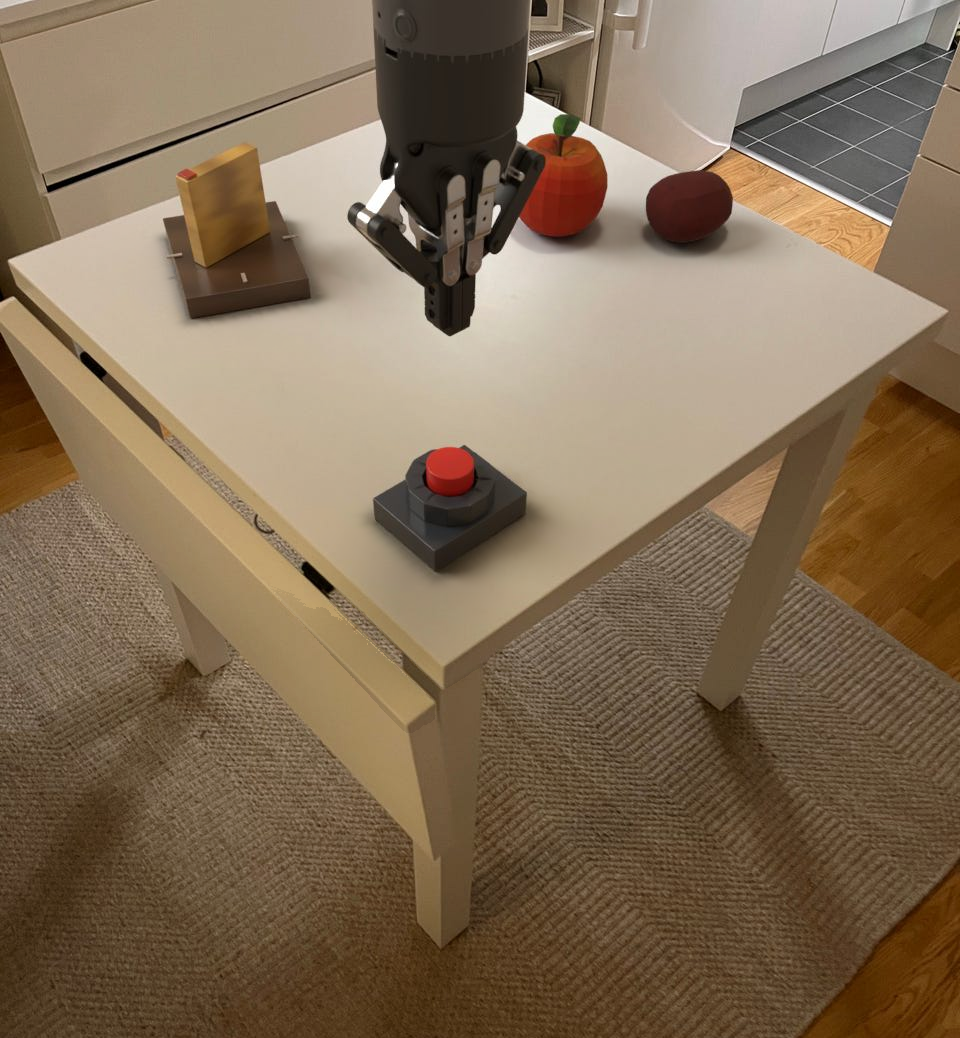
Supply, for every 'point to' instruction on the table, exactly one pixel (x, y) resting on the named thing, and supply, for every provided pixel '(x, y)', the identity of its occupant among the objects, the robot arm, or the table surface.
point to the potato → (688, 205)
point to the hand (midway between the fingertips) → (449, 326)
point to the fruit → (565, 182)
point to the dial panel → (239, 270)
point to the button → (450, 471)
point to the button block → (448, 511)
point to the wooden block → (223, 203)
